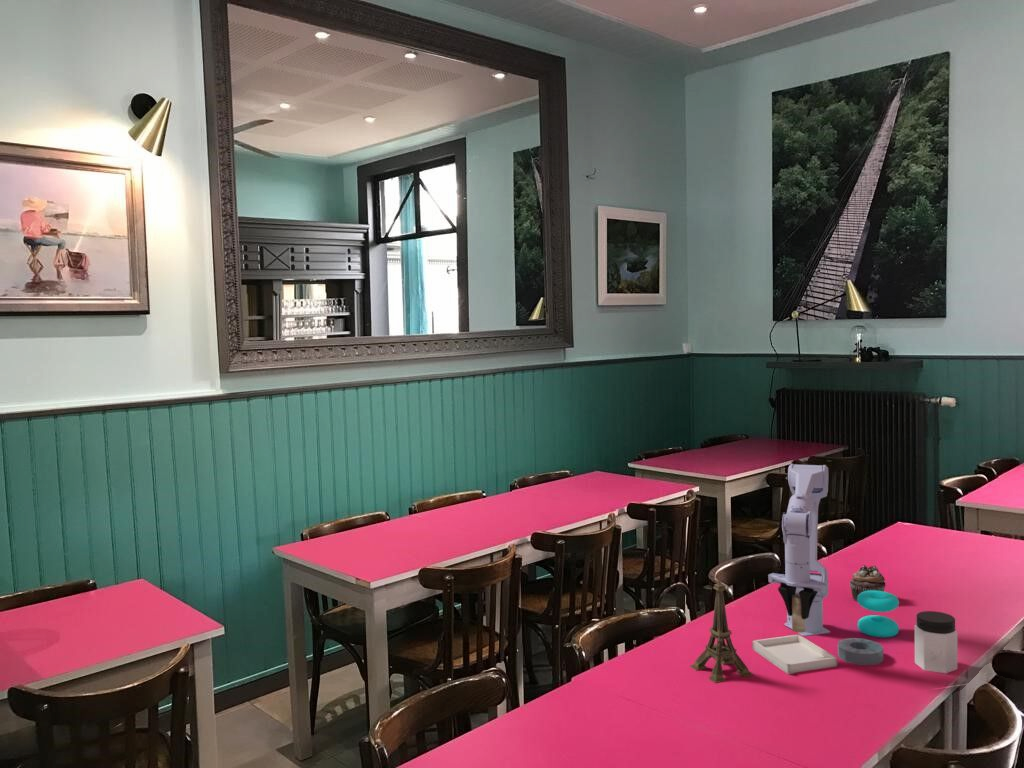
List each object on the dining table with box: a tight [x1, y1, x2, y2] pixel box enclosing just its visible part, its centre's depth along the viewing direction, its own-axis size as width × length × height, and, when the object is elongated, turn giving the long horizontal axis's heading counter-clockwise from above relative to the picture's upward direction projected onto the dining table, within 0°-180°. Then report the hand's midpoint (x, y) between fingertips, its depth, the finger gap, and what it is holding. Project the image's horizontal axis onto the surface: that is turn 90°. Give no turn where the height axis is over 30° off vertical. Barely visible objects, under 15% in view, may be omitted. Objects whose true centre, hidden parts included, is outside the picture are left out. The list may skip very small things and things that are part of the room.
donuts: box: [856, 590, 900, 638], centre depth 218 cm, size 10×10×10 cm
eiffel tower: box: [689, 573, 754, 684], centre depth 197 cm, size 11×11×25 cm
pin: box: [791, 594, 805, 634], centre depth 203 cm, size 3×3×8 cm
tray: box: [752, 633, 838, 675], centre depth 203 cm, size 16×13×2 cm
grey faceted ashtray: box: [837, 637, 884, 666], centre depth 202 cm, size 10×10×3 cm
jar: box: [914, 610, 958, 674], centre depth 195 cm, size 9×8×12 cm
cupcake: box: [848, 565, 887, 603], centre depth 244 cm, size 10×10×10 cm
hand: (798, 616), depth 203 cm, fingers closed on pin, 3 cm apart
